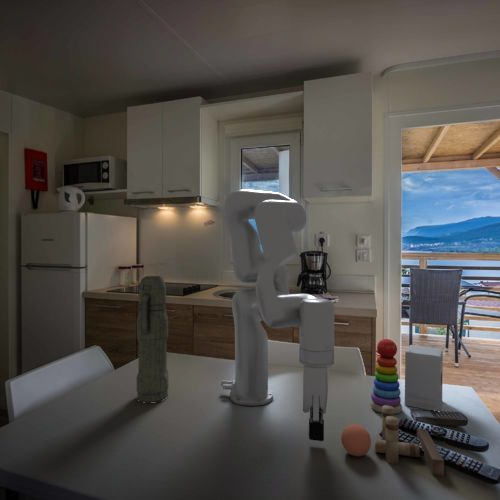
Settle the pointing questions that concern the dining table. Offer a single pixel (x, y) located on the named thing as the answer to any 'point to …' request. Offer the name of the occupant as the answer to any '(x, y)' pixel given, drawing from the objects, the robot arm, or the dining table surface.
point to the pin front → (399, 448)
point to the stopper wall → (431, 453)
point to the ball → (356, 440)
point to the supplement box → (423, 377)
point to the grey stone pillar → (152, 340)
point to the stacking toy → (386, 378)
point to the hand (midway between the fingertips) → (316, 438)
